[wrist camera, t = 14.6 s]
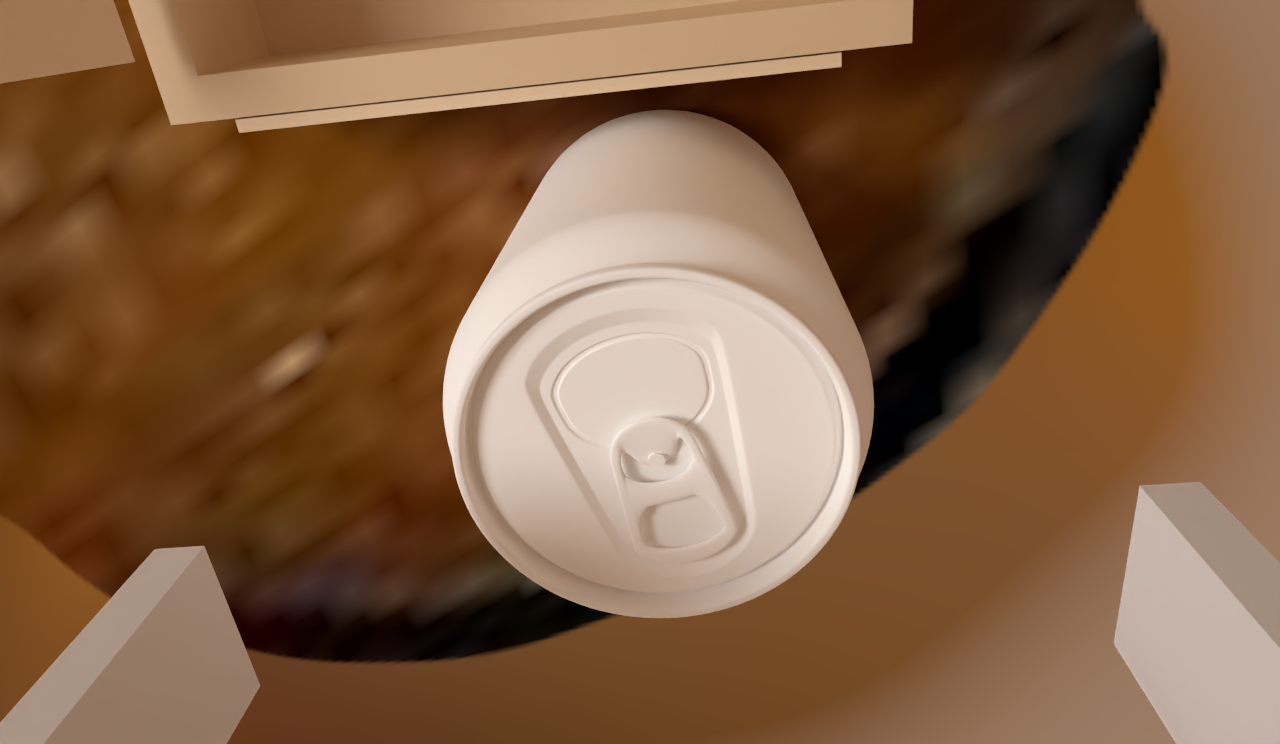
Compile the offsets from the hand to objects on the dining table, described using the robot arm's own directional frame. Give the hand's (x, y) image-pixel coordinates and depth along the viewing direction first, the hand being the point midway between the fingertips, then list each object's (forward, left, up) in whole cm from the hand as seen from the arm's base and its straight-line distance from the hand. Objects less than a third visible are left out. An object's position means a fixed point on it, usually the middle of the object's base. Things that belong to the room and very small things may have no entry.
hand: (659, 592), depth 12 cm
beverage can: (0, 0, -15) cm, 15 cm away
